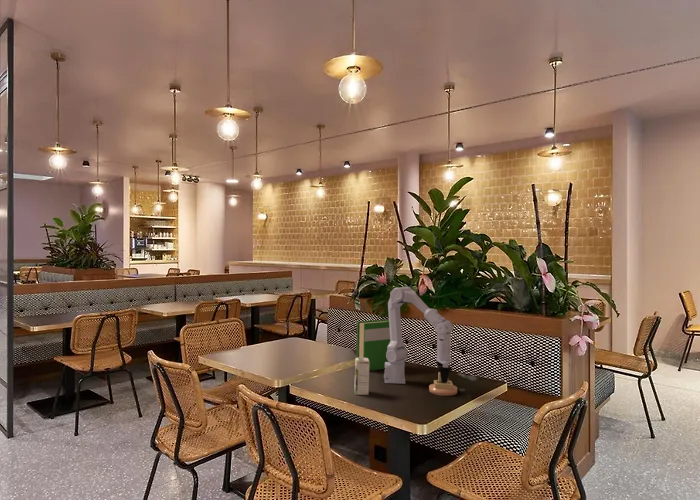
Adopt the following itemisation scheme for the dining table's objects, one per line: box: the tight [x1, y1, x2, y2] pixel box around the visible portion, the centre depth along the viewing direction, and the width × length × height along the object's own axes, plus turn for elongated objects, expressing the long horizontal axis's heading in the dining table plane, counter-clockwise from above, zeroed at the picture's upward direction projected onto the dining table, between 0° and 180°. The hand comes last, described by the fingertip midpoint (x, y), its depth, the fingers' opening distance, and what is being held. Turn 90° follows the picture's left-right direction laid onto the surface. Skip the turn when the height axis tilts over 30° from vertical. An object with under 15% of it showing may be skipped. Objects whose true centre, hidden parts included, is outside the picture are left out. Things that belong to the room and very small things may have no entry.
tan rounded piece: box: [428, 379, 458, 397], centre depth 206 cm, size 12×12×4 cm
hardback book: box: [356, 319, 390, 372], centre depth 246 cm, size 18×7×24 cm, turn 120°
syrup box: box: [353, 357, 370, 396], centre depth 202 cm, size 6×6×14 cm
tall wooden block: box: [437, 371, 449, 384], centre depth 206 cm, size 4×2×6 cm, turn 85°
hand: (443, 380), depth 206 cm, fingers open, 7 cm apart
